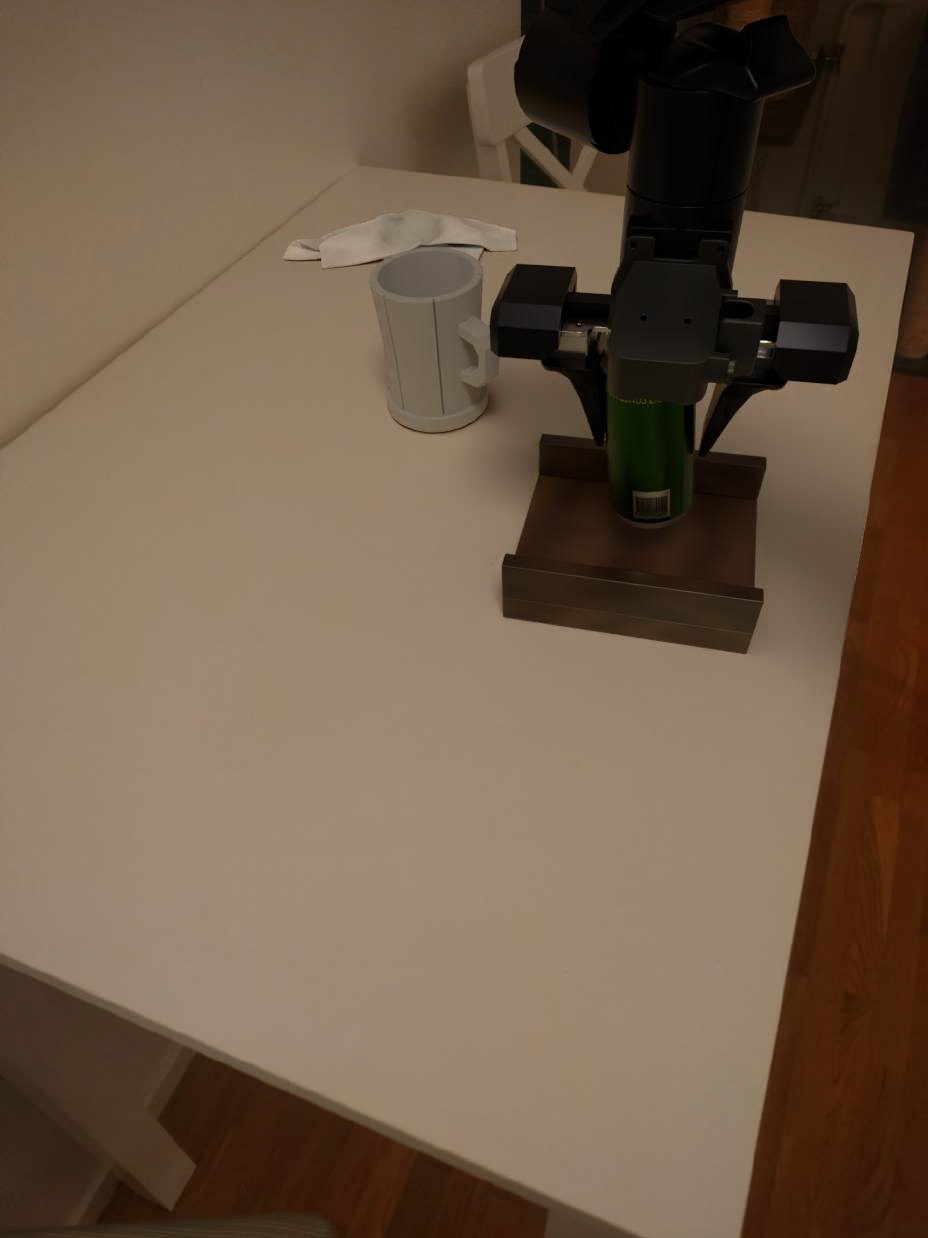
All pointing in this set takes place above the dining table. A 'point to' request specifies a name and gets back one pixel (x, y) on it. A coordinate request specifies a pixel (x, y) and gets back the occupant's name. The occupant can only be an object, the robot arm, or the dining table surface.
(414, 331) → the cup
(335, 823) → the dining table surface
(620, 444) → the beer can
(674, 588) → the rack
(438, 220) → the cloth
